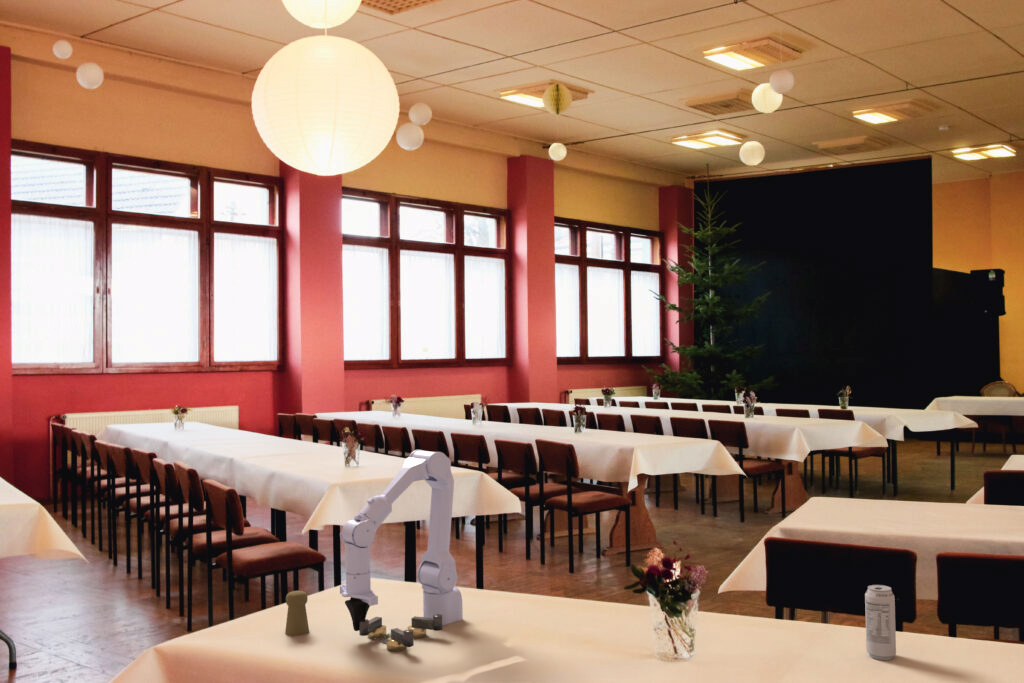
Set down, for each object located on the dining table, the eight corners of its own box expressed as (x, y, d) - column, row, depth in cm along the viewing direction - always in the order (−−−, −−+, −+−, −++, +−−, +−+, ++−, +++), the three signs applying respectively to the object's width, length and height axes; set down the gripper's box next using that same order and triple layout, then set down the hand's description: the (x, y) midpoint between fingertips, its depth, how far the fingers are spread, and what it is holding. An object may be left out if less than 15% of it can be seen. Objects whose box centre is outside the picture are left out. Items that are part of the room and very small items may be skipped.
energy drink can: (901, 656, 197) (899, 587, 197) (888, 663, 193) (886, 592, 193) (874, 649, 202) (872, 582, 202) (861, 656, 198) (859, 587, 198)
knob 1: (374, 632, 218) (373, 610, 219) (389, 634, 217) (389, 612, 217) (353, 643, 210) (353, 620, 210) (369, 645, 209) (369, 622, 209)
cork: (303, 641, 216) (302, 595, 216) (280, 640, 217) (279, 594, 218) (314, 633, 222) (313, 588, 222) (291, 632, 223) (290, 587, 224)
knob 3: (404, 637, 214) (404, 615, 214) (413, 631, 218) (413, 610, 218) (437, 641, 211) (437, 618, 211) (446, 635, 215) (445, 613, 215)
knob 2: (383, 647, 207) (382, 625, 207) (400, 643, 209) (399, 621, 209) (402, 657, 200) (402, 634, 200) (419, 653, 202) (419, 630, 202)
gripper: (328, 569, 215) (329, 626, 215) (358, 580, 204) (359, 640, 204) (354, 564, 219) (355, 620, 219) (385, 575, 208) (386, 634, 208)
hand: (359, 629), depth 212 cm, fingers closed, pressing on knob 1
